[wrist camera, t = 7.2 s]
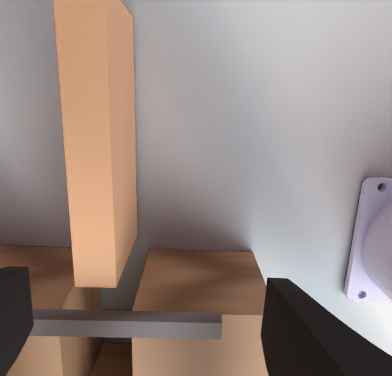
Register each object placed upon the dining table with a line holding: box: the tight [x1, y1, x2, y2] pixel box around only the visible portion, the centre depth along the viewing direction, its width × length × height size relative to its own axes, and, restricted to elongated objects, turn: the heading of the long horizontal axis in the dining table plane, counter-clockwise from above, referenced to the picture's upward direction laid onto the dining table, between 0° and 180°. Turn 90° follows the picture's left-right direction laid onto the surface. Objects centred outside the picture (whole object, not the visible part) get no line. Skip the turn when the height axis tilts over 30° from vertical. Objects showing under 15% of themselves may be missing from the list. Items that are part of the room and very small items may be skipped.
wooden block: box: [0, 246, 269, 376], centre depth 18 cm, size 16×8×7 cm, turn 88°
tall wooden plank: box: [53, 0, 137, 288], centre depth 15 cm, size 2×12×6 cm, turn 178°
